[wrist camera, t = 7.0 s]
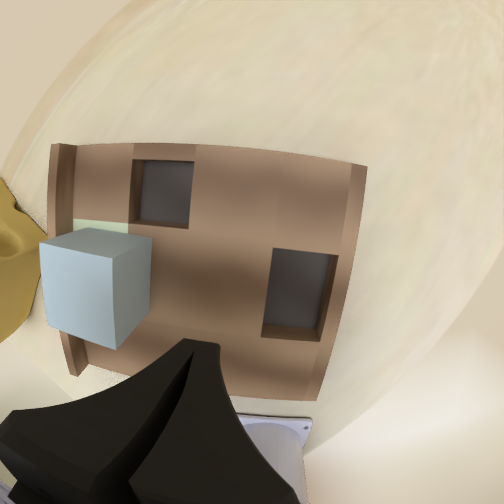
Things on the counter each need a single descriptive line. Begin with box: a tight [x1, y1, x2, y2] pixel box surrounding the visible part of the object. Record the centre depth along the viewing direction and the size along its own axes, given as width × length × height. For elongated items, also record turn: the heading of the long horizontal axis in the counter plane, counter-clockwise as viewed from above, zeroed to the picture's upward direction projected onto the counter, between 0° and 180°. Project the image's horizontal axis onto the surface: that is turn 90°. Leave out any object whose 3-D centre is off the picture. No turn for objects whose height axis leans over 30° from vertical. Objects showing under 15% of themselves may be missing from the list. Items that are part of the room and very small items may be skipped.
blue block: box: [39, 227, 152, 350], centre depth 15 cm, size 5×5×5 cm
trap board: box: [47, 143, 367, 401], centre depth 17 cm, size 17×19×4 cm
